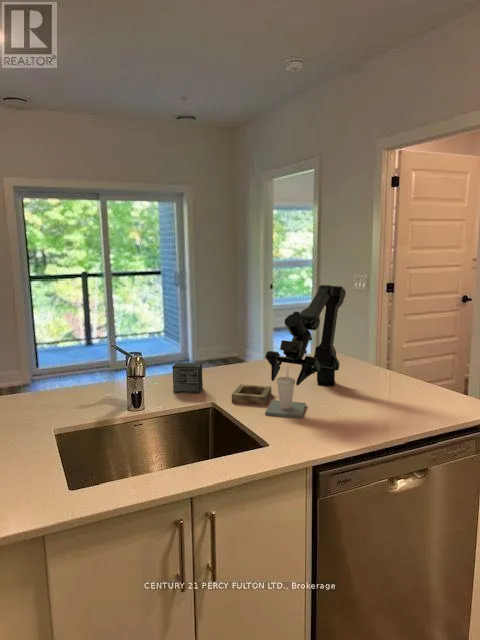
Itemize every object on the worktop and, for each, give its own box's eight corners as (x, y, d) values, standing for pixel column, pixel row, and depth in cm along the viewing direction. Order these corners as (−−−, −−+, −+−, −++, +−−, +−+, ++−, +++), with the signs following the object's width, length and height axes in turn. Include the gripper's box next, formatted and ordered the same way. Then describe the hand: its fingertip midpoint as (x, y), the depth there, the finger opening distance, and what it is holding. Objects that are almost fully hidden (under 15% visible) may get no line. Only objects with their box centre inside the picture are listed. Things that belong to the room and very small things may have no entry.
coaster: (305, 405, 161) (305, 402, 160) (301, 418, 149) (301, 415, 149) (272, 402, 164) (272, 400, 163) (265, 415, 152) (265, 412, 152)
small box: (203, 388, 181) (202, 362, 179) (200, 393, 174) (199, 366, 172) (176, 387, 182) (175, 361, 180) (172, 393, 175) (171, 366, 173)
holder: (271, 394, 173) (271, 386, 172) (264, 405, 161) (264, 397, 161) (240, 391, 176) (240, 384, 175) (231, 402, 164) (231, 394, 164)
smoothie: (294, 410, 153) (294, 369, 151) (275, 409, 154) (275, 369, 152) (295, 404, 159) (295, 364, 157) (277, 403, 160) (276, 364, 158)
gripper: (267, 328, 160) (251, 366, 153) (317, 333, 150) (302, 374, 143) (278, 345, 168) (263, 382, 161) (326, 352, 158) (312, 391, 151)
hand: (284, 382), depth 153 cm, fingers open, 9 cm apart
